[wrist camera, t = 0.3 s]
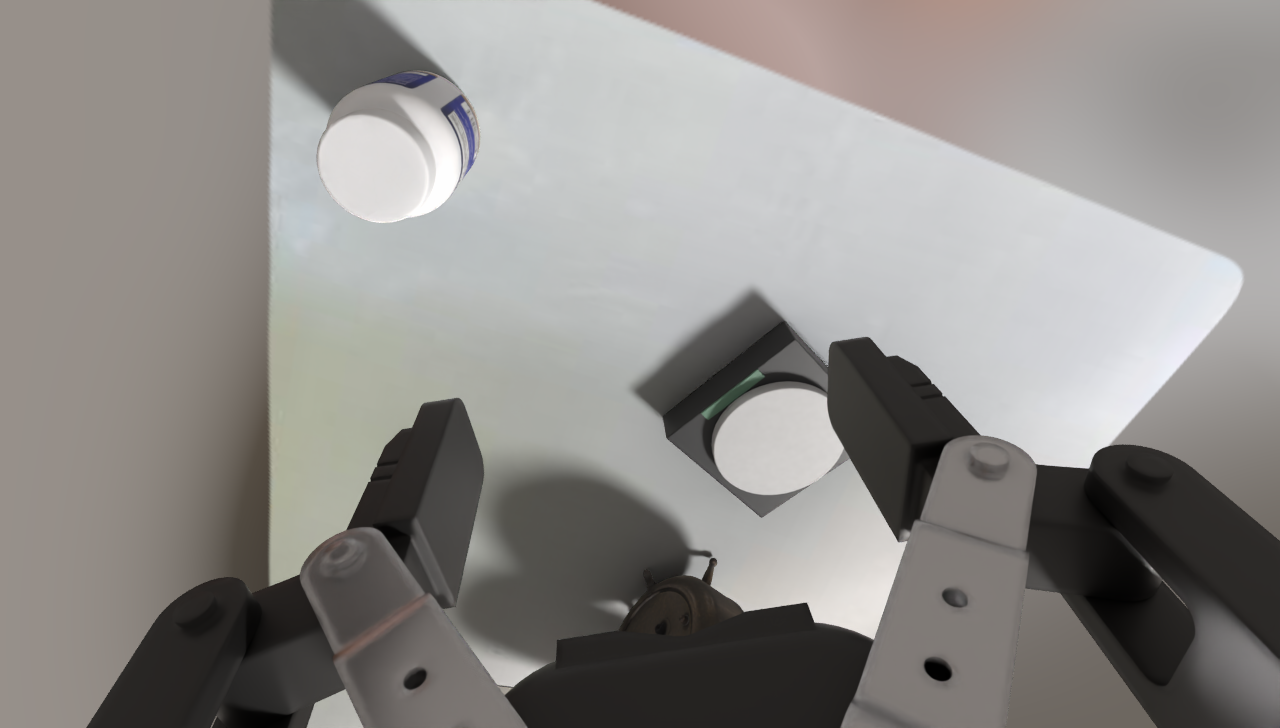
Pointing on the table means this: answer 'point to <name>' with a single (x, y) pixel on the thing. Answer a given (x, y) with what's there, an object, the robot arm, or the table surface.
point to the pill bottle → (398, 146)
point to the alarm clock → (679, 606)
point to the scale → (761, 422)
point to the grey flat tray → (504, 689)
